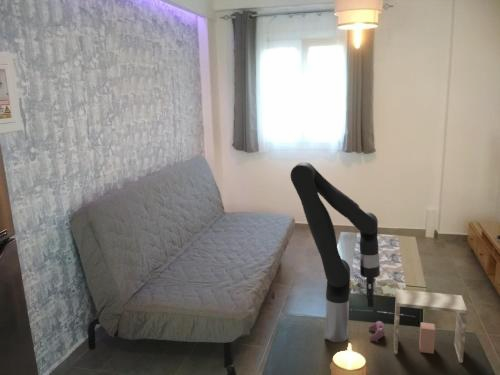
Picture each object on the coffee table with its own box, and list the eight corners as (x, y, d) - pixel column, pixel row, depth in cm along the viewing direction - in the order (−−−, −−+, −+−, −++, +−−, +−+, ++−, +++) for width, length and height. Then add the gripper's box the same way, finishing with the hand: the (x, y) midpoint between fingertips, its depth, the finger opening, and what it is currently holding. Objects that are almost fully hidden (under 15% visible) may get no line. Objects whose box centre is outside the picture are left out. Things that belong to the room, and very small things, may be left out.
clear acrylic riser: (394, 353, 175) (396, 303, 171) (393, 336, 188) (396, 289, 183) (462, 363, 169) (467, 310, 164) (457, 344, 181) (461, 295, 177)
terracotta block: (420, 351, 176) (421, 328, 174) (419, 345, 181) (420, 322, 179) (433, 353, 175) (435, 330, 173) (432, 346, 180) (434, 323, 178)
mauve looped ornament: (379, 345, 184) (387, 332, 182) (368, 340, 184) (377, 327, 182) (377, 333, 193) (385, 320, 192) (367, 328, 194) (375, 315, 192)
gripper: (360, 257, 186) (362, 294, 189) (358, 269, 173) (360, 309, 176) (379, 257, 184) (380, 294, 187) (379, 270, 171) (380, 310, 173)
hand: (371, 301), depth 181 cm, fingers open, 8 cm apart
